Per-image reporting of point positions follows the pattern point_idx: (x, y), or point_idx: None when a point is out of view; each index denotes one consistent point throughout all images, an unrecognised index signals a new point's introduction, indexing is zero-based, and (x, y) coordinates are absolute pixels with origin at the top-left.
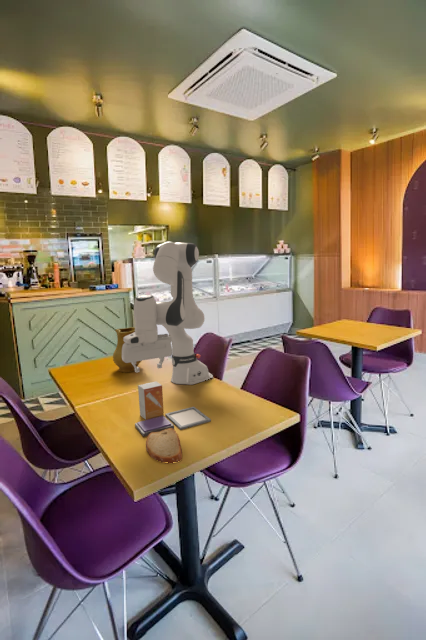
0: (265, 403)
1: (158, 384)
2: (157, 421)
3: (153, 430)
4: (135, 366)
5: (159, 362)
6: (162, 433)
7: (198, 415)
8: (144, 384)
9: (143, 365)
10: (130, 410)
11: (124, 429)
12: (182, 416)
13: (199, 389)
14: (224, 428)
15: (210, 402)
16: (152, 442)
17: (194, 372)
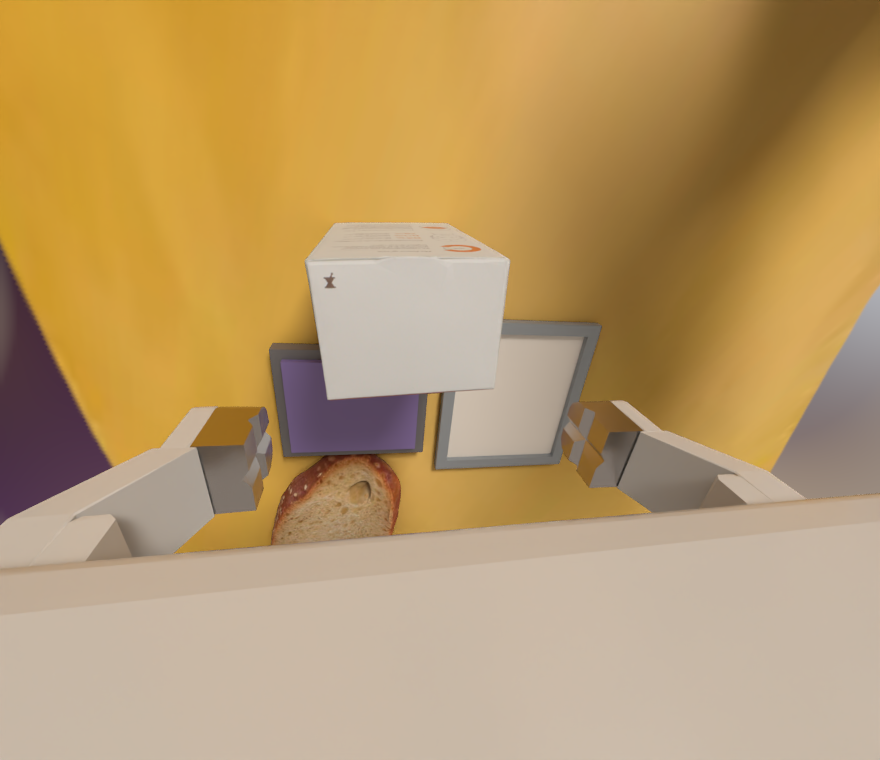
0: (782, 435)
1: (481, 359)
2: (373, 404)
3: (331, 453)
4: (157, 551)
5: (652, 448)
6: (356, 482)
7: (555, 405)
8: (374, 279)
9: None
10: (293, 84)
11: (213, 345)
12: (502, 379)
13: (842, 62)
14: (549, 512)
15: (694, 307)
16: (296, 532)
17: None
